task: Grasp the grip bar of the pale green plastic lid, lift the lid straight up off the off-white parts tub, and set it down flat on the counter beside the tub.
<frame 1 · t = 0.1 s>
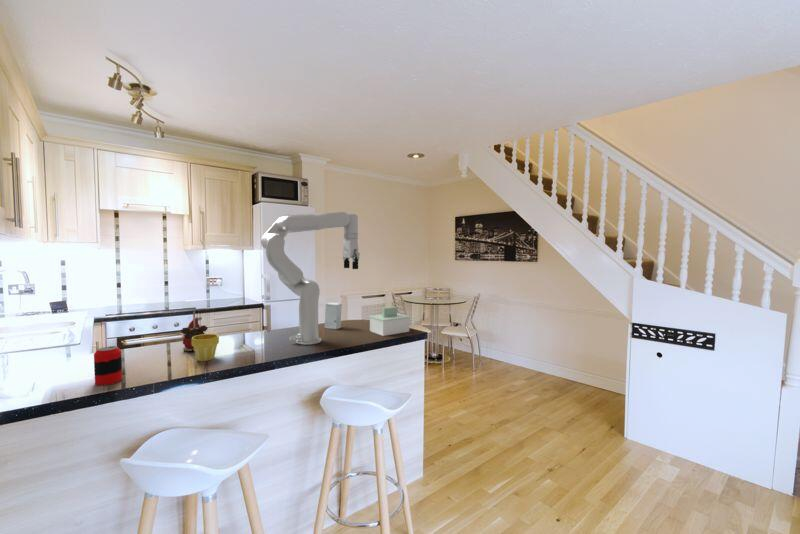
hand: (350, 268, 197), 37 cm above the countertop, tool pointing down, fingers open, 9 cm apart
tub: (389, 331, 209), on the countertop
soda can: (108, 382, 129), on the countertop
lid: (389, 319, 208), point 7 cm above the countertop, touching tub
dark red figurine: (194, 349, 170), on the countertop
skincare box: (333, 328, 216), on the countertop
plant pot: (205, 359, 155), on the countertop
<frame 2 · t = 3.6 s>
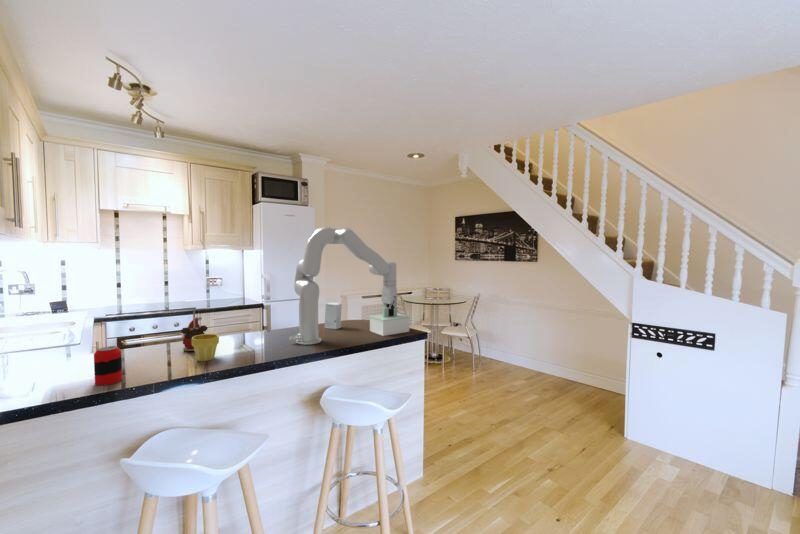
hand: (389, 315, 208), 9 cm above the countertop, tool pointing down, fingers closed on lid, 2 cm apart
lid: (389, 319, 208), point 7 cm above the countertop, touching gripper, tub
everything else where it was.
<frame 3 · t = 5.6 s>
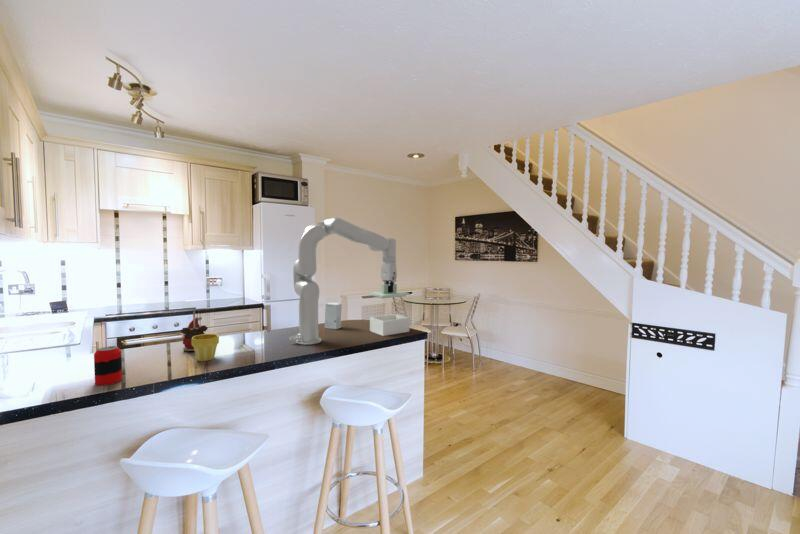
hand: (388, 291, 207), 23 cm above the countertop, tool pointing down, fingers closed on lid, 2 cm apart
lid: (388, 296, 207), point 20 cm above the countertop, touching gripper
everything else where it was.
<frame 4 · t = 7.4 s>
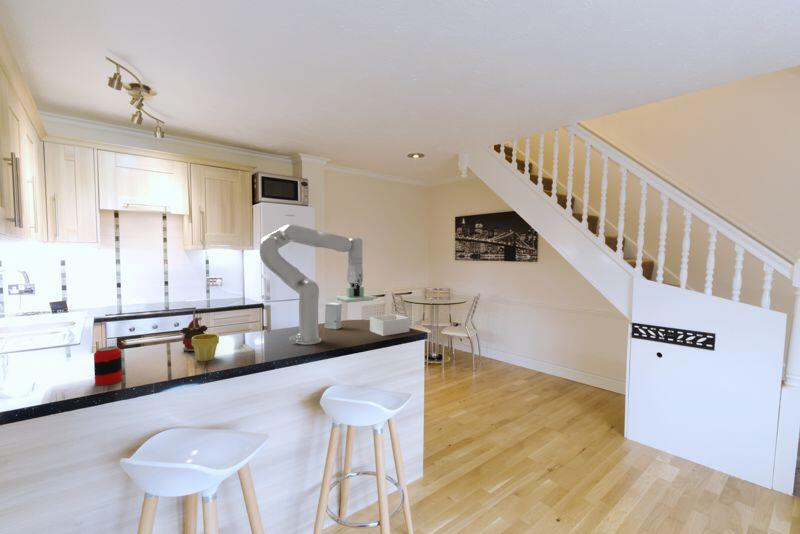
hand: (355, 295, 193), 23 cm above the countertop, tool pointing down, fingers closed on lid, 2 cm apart
lid: (355, 300, 193), point 20 cm above the countertop, touching gripper
everything else where it was.
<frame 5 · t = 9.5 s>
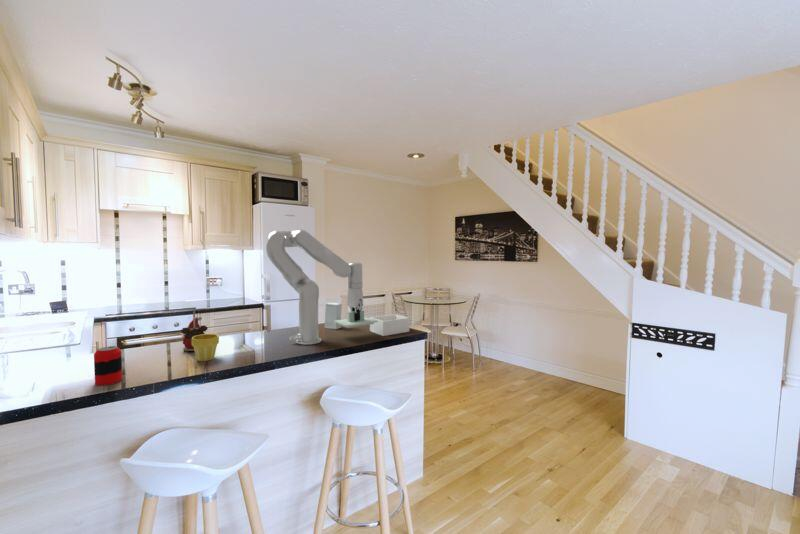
hand: (355, 319, 194), 10 cm above the countertop, tool pointing down, fingers closed on lid, 2 cm apart
lid: (355, 323, 194), point 7 cm above the countertop, touching gripper
everything else where it was.
when the fingers open (4 cm above the countertop, at t = 11.3 s): lid drops 2 cm, on the countertop.
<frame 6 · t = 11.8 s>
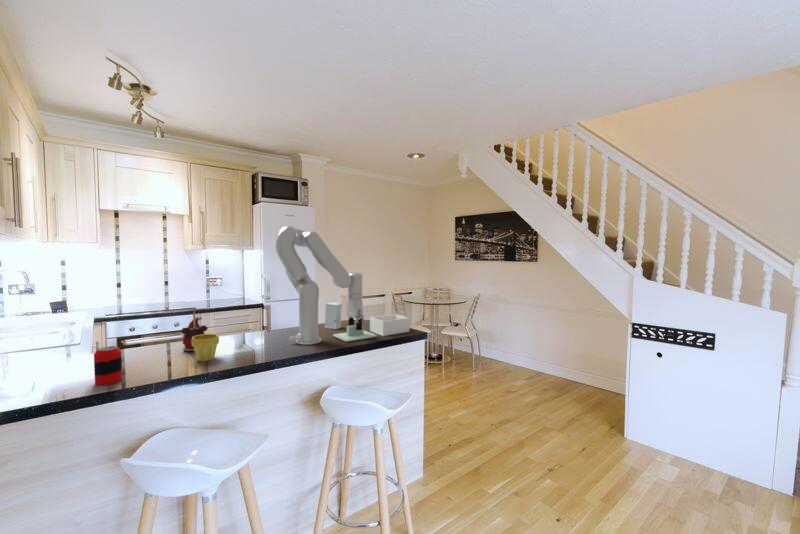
hand: (355, 328, 194), 5 cm above the countertop, tool pointing down, fingers open, 8 cm apart
lid: (355, 338, 195), on the countertop
everything else where it was.
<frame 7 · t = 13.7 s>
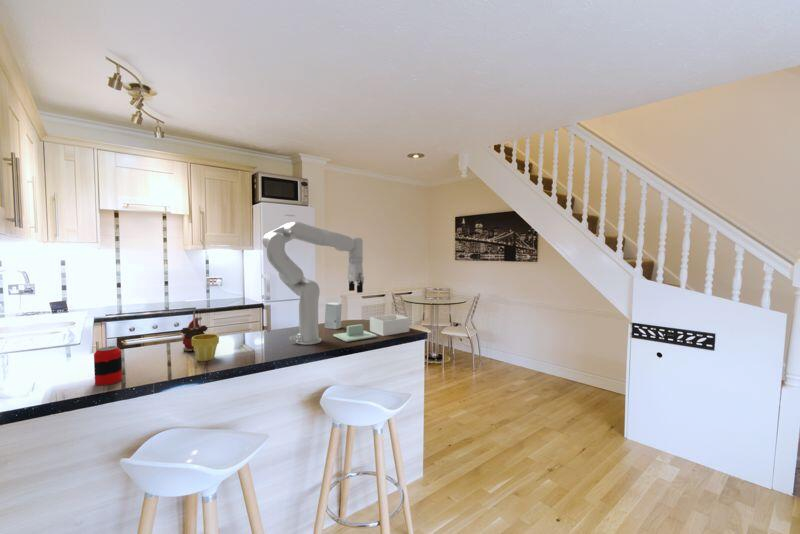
hand: (355, 291, 198), 24 cm above the countertop, tool pointing down, fingers open, 9 cm apart
nothing on the countertop moved.
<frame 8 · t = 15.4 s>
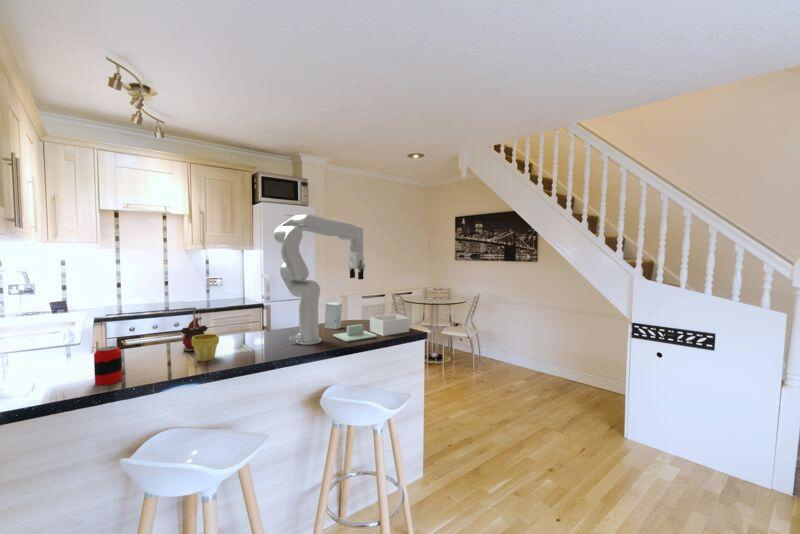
hand: (356, 278, 208), 30 cm above the countertop, tool pointing down, fingers open, 9 cm apart
nothing on the countertop moved.
at the end: lid inside the target area (0.0 cm from its centre), on the countertop; lid tilted 0°; the gripper is holding nothing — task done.
